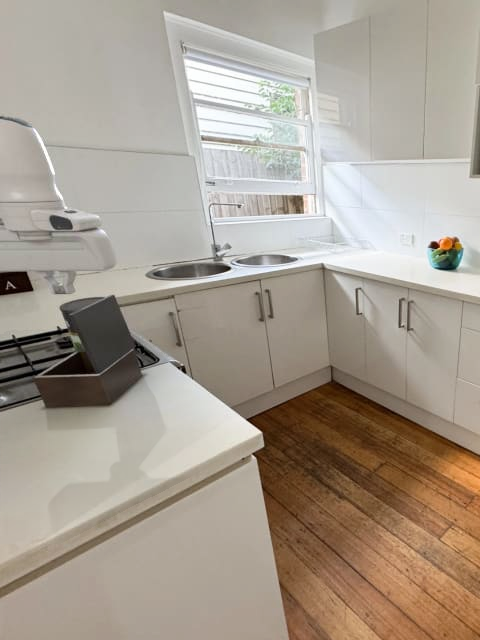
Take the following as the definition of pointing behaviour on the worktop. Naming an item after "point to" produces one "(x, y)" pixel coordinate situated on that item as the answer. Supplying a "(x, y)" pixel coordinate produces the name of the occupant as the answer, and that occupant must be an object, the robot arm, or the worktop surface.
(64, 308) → the coffee can
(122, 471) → the worktop surface
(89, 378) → the open brown box
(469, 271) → the worktop surface
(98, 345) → the dark grey box door
